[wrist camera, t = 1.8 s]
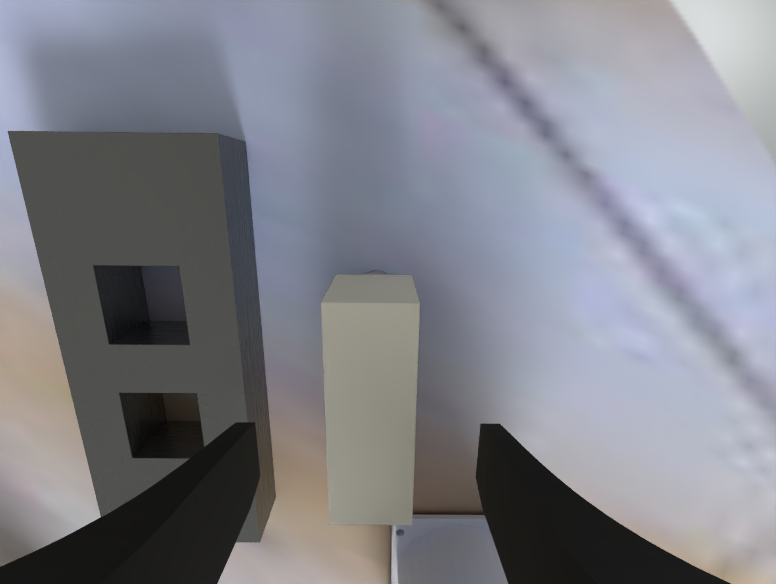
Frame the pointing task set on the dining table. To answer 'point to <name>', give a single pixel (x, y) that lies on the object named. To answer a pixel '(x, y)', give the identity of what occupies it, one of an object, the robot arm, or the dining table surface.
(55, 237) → the grey flat block
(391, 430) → the cream slab block
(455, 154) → the dining table surface
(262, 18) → the dining table surface
